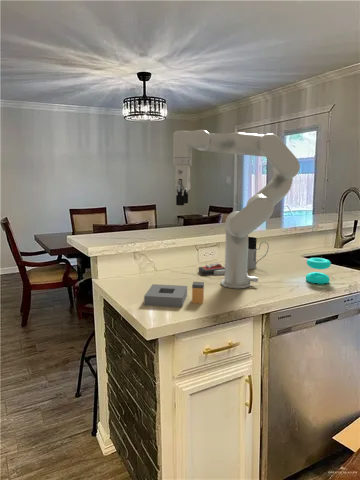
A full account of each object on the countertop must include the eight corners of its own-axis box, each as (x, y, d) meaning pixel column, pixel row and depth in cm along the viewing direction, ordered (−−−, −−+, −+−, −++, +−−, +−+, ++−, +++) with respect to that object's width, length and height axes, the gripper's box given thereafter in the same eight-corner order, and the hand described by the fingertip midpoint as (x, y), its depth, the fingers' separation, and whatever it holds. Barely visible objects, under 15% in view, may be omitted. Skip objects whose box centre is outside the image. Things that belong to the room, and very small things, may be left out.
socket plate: (187, 294, 146) (187, 285, 145) (182, 307, 132) (182, 297, 132) (152, 292, 148) (152, 284, 147) (144, 305, 134) (144, 295, 134)
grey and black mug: (240, 264, 193) (241, 236, 190) (268, 266, 188) (269, 237, 185) (237, 268, 185) (238, 239, 182) (266, 270, 180) (267, 240, 177)
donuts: (302, 258, 163) (317, 256, 168) (300, 280, 165) (315, 277, 170) (320, 263, 155) (336, 260, 160) (319, 286, 156) (334, 282, 162)
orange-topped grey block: (203, 299, 140) (204, 282, 139) (202, 303, 136) (203, 285, 135) (193, 299, 141) (193, 281, 139) (192, 302, 137) (192, 284, 135)
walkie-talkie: (203, 277, 170) (241, 273, 177) (203, 268, 169) (241, 264, 176) (195, 272, 178) (232, 268, 185) (196, 264, 177) (232, 260, 184)
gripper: (188, 161, 141) (187, 206, 144) (194, 162, 157) (194, 202, 161) (169, 161, 142) (169, 206, 145) (177, 162, 159) (177, 202, 162)
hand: (182, 204), depth 153 cm, fingers open, 9 cm apart
